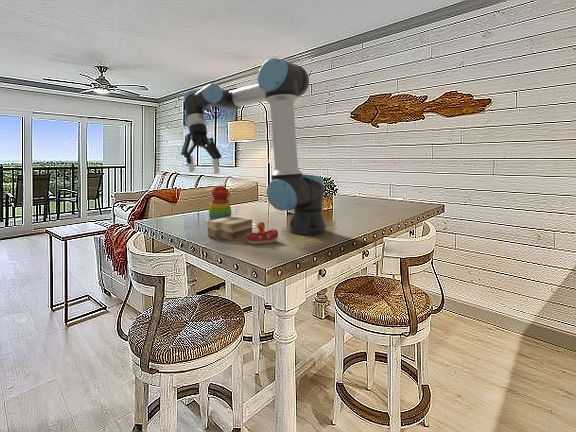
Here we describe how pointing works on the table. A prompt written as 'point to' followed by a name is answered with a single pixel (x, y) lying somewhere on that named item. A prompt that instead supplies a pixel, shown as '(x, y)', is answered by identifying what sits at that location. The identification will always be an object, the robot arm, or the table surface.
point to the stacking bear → (220, 203)
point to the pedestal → (229, 228)
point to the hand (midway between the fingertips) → (205, 172)
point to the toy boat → (262, 236)
